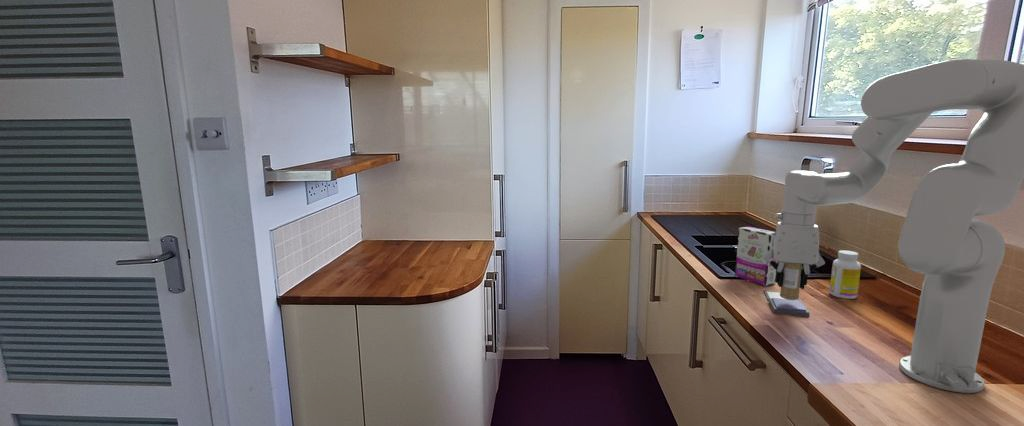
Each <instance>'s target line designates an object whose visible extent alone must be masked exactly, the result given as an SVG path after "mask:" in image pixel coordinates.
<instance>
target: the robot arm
mask: <svg viewBox="0 0 1024 426" xmlns="http://www.w3.org/2000/svg"><path fill="white" fill-rule="evenodd" d="M862 94H863V95H862V96H861V100H860V107H861V110H862V112H863V113H864V115H866V118H864V120H862V122H861V123H860V124H859V125H858V126H857V127H856V129H855V130H854V131H853V132H852V134H851V141H852V142H853V144H854V146H855V147H857V149H858V150H860V151H861V153H860V155H859V157H858V158H857V159H856V160H855V161H854V163H853V164H852V165H851V166H850V167H849V168H848V169H847V170H845V172H836V173H835V172H833V173H831V172H830V173H817V172H816V171H812V170H810V171H809V170H791V171H788V172H787V173H786V175H785V179H784V188H783V198H782V208H781V211H780V212H779V213H775V214H774V218H775V219H778V220H779V221H778V222H777V225H776V227H775V231H774V232H775V234H774V239H773V244H772V248H771V249H770V250H769V251H768V252H767V253H766V254H765V255H764V256H763V259H764V260H765V261H767V262H768V263H769V264H771V265H772V266H773V267H774V268H775V269H776V277H775V284H777V286H778V287H780V288H781V287H782V286H783V276H784V273H783V266H784V264H785V263H796V264H802V270H801V282H800V288H799V289H801V290H805V286H807V284H808V277H809V275H810V274H811V272H813V271H815V270H816V269H817V268H820V267H822V266H823V265H825V264H826V262H825V260H824V259H823V257H822V256H821V254H820V232H819V226H818V225H817V224H815V223H816V216H817V215H816V214H817V207H818V206H820V207H821V206H833V205H845V204H852V203H857V202H858V201H860V200H862V199H864V198H865V197H866V196H867V195H868V194H869V193H870V192H871V191H872V190H874V188H875V187H876V186H877V185H879V184H880V182H881V181H882V180H883V179H884V177H885V176H886V175H887V172H888V169H889V167H890V163H891V156H892V154H893V153H894V152H895V151H896V150H897V149H898V148H899V147H900V146H901V145H902V144H903V143H904V142H905V141H906V140H907V139H908V138H909V137H911V135H912V134H913V133H914V131H916V130H917V129H918V128H919V127H920V126H921V125H922V124H923V123H924V122H925V121H926V120H927V119H928V118H929V117H930V116H931V114H933V113H934V112H941V111H942V112H943V111H951V110H953V111H954V110H979V111H980V110H981V111H982V112H983V115H982V117H981V118H980V119H979V121H978V122H977V123H976V125H975V126H974V127H973V129H972V130H971V133H969V135H968V138H967V139H966V144H965V148H964V150H963V152H962V155H961V157H960V160H959V161H958V163H949V164H943V165H939V166H938V167H934V168H933V169H931V170H930V171H928V172H927V173H926V174H924V176H922V177H921V179H920V180H919V182H918V183H917V185H916V186H915V189H914V191H913V194H912V197H911V200H910V204H909V206H908V210H907V212H906V216H905V218H904V222H903V225H902V228H901V231H900V234H899V239H898V252H899V256H900V258H901V260H902V262H903V263H904V264H905V265H906V266H907V268H909V269H911V270H912V271H914V272H916V273H919V274H922V275H925V277H924V278H923V282H922V285H921V292H920V296H919V302H918V307H917V308H918V310H917V315H916V320H915V327H914V332H913V333H914V334H913V338H912V346H911V351H910V355H906V356H903V357H901V358H900V360H899V364H898V367H899V369H900V370H901V371H902V373H904V374H905V375H906V376H908V377H910V378H912V379H914V380H915V381H918V382H919V383H922V384H923V385H924V384H925V385H927V386H929V387H933V388H937V389H940V390H945V391H948V392H953V393H954V392H955V393H963V394H972V393H979V392H981V391H983V390H984V388H985V384H986V383H985V379H984V378H983V377H982V376H981V375H980V374H978V373H977V372H976V370H977V365H978V359H979V355H980V350H981V345H982V338H983V333H984V328H985V322H986V318H987V312H988V308H989V304H990V303H989V302H990V299H991V294H992V290H993V285H994V283H995V280H996V277H997V275H998V273H999V270H1000V268H1001V265H1002V263H1003V260H1004V257H1005V254H1006V243H1005V242H1006V241H1005V238H1004V236H1003V234H1002V233H1001V232H1000V230H999V229H997V228H996V227H995V226H994V225H992V224H990V223H988V222H986V221H984V220H980V219H976V218H975V219H974V217H979V216H987V215H993V214H997V213H1001V212H1003V211H1005V210H1007V209H1008V208H1009V207H1011V206H1012V205H1013V204H1014V201H1015V200H1016V198H1017V196H1018V194H1019V191H1020V188H1021V186H1022V184H1023V180H1024V64H1022V63H1019V62H1016V61H1009V60H1004V59H1003V60H1002V59H1001V60H1000V59H979V58H978V59H974V58H972V59H970V58H969V59H968V58H957V59H954V58H953V59H949V60H943V61H940V62H939V61H938V62H935V63H931V64H928V65H923V66H919V67H916V68H913V69H909V70H904V71H900V72H896V73H891V74H889V75H886V76H883V77H880V78H878V79H876V80H874V81H873V82H872V83H871V84H870V85H869V86H868V87H867V88H866V89H865V91H864V92H863V93H862ZM771 256H773V258H774V259H775V260H776V261H777V262H775V261H774V260H772V259H771Z"/></svg>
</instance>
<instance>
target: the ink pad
mask: <svg viewBox="0 0 1024 426" xmlns="http://www.w3.org/2000/svg"><path fill="white" fill-rule="evenodd" d="M768 303H769V305H770V307H771V310H772V311H773V313H774V314H779V315H785V316H786V315H788V316H797V317H805V318H806V317H807V318H810V314H811V313H810V311H809V310H808V308H807V307H806V305H805V304H804V302H803V301H801V300H800V299H798V300H788V299H779V298H769V301H768Z"/></svg>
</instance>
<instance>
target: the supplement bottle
mask: <svg viewBox="0 0 1024 426" xmlns="http://www.w3.org/2000/svg"><path fill="white" fill-rule="evenodd" d="M837 256H838V258H836V259H834V260H833V262H832V267H831V277H830V285H829V293H830V295H832V296H834V297H836V298H840V299H843V300H844V299H845V300H853V299H854V300H855V299H856V298H857V297H858V294H859V293H858V292H859V287H860V279H861V272H862V271H861V270H862V265H861V263H860V262H859V261H857V260H858V259H859V253H858V252H856V251H852V250H844V249H843V250H839V251H838V252H837Z"/></svg>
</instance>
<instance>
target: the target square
mask: <svg viewBox="0 0 1024 426" xmlns="http://www.w3.org/2000/svg"><path fill="white" fill-rule="evenodd" d="M780 292H781V291H775V290H764V289H763V293H764V295H765V298H766V300H767V301H768V302H769V298H779V299H784V298H782V297H781V296H780ZM797 300H799V299H797Z"/></svg>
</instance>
